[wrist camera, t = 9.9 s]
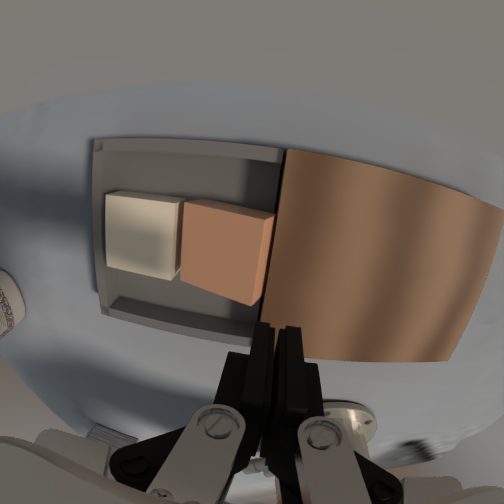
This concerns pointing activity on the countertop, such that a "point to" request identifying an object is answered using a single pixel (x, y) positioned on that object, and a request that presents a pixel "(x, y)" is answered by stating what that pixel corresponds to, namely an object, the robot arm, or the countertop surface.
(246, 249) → the terracotta tile
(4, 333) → the bath foam
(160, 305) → the tray
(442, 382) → the countertop surface
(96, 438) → the medicine box
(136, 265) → the cream tile
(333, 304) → the walnut board
